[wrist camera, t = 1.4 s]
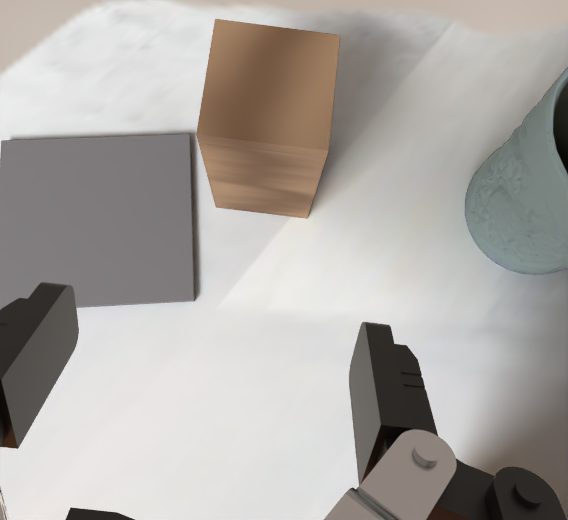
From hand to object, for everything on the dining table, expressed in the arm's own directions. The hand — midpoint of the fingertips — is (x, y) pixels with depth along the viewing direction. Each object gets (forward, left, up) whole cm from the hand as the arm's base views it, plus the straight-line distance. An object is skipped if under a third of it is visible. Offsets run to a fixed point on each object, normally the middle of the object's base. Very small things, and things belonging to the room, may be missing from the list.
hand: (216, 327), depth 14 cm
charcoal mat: (+9, -9, -17) cm, 21 cm away
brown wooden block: (-2, -12, -17) cm, 21 cm away
